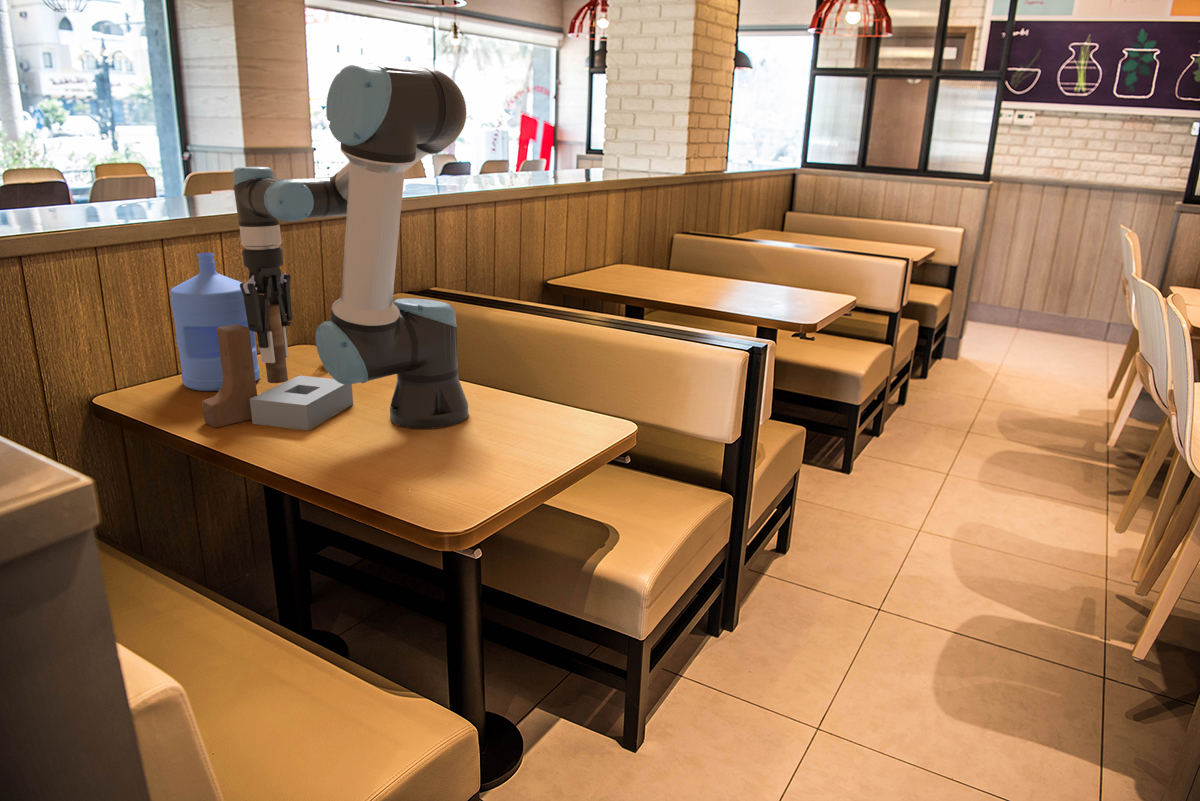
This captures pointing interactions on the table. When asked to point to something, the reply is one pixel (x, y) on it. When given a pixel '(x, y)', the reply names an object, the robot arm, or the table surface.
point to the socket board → (301, 402)
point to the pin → (276, 348)
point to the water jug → (206, 323)
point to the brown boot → (233, 379)
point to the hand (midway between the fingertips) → (275, 359)
